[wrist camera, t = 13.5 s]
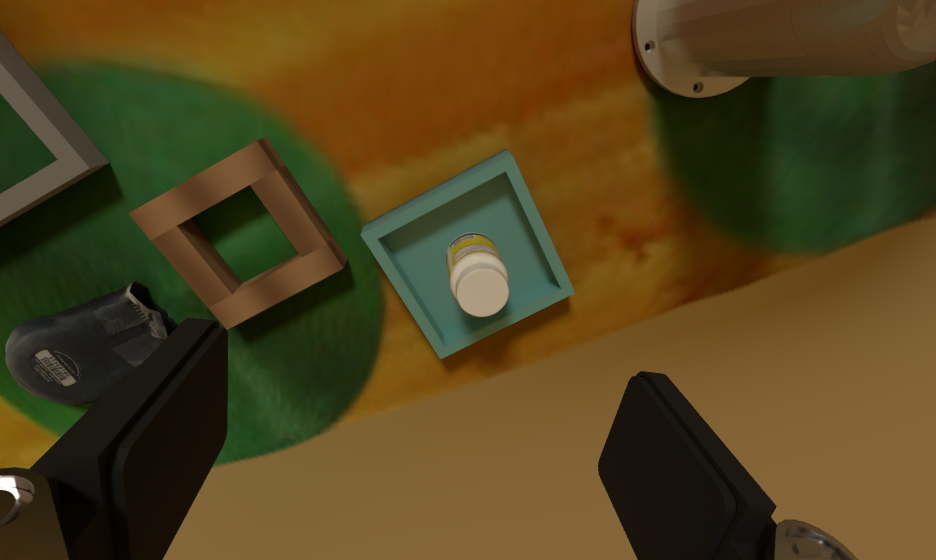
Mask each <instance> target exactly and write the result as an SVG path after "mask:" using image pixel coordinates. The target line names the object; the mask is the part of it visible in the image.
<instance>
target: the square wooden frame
mask: <svg viewBox="0 0 936 560" xmlns="http://www.w3.org/2000/svg"><path fill="white" fill-rule="evenodd" d="M249 185H250V186H251V187H252V189H253V190H254V192H255V193H256V194H257V196H258V197H259V199H260V200H261V201H262V203H263V204H264V206H265V207H266V208H267V210H268V211H269V213H270V214H271V215H272V217H273V218H274V220H275V221H276V222H277V224H278V225H279V227H280V228H281V229H282V231H283V232H284V234H285V235H286V236H287V238H288V239H289V241H290V242H291V243H292V245H293V246H294V248H295V249H296V250H297V252H298V254H296V255H295V256H293V257H291V258H289V259H287V260H285V261H283V262H282V263H280V264H278V265H276V266H274V267H272V268H270V269H268V270H267V271H265V272H263V273H261V274H259V275H257V276H255V277H254V278H252V279H250V280H248V281H246V282H244V283H242V282H241V281H240V280H239V279H238V277H237V276H236V275H235V274H234V272H233V271H232V270H231V268H230V267H229V266H228V265H227V263H226V262H225V261H224V260H223V258H222V257H221V256H220V255H219V253H218V252H217V251H216V250H215V248H214V247H213V246H212V245H211V243H210V242H209V241H208V239H207V238H206V237H205V236H204V234H203V233H202V232H201V231H200V229H199V228H198V227H197V226H196V224H195V223H194V222H193V221H192V219H191V217H193V216H195V215H197V214H199V213H200V212H202V211H204V210H206V209H208V208H209V207H211V206H213V205H215V204H216V203H218V202H220V201H222V200H224V199H225V198H227V197H229V196H231V195H233V194H234V193H236V192H238V191H240V190H242V189H243V188H245V187H247V186H249ZM129 215H130V216H131V217H132V219H133V220H134V221H135V222H136V223H137V224H138V226H139V227H140V228H141V229H142V230H143V232H144V233H145V234H146V235H147V236H148V237H149V239H150V240H151V241H152V242H153V243H154V244H155V246H156V247H157V248H158V249H159V250H160V252H161V253H162V254H163V255H164V256H165V257H166V259H167V260H168V261H169V262H170V263H171V265H172V266H173V267H174V268H175V269H176V270H177V272H178V273H179V274H180V275H181V276H182V277H183V279H184V280H185V281H186V282H187V283H188V285H189V286H190V287H191V288H192V289H193V290H194V292H195V293H196V294H197V295H198V296H199V298H200V299H201V300H202V301H203V302H204V303H205V305H206V306H207V307H208V308H209V309H210V310H211V312H212V313H213V314H214V315H215V316H216V318H217V319H218V320H219V321H220V322H221V323H222V325H223V326H224V327H225V328H226V329H227V330H228V329H230V328H231V327H233V326H235V325H237V324H239V323H241V322H243V321H245V320H247V319H249V318H250V317H252V316H254V315H256V314H258V313H260V312H262V311H264V310H266V309H268V308H269V307H271V306H273V305H275V304H277V303H279V302H281V301H283V300H285V299H287V298H288V297H290V296H292V295H294V294H296V293H298V292H300V291H302V290H304V289H306V288H307V287H309V286H311V285H313V284H315V283H317V282H319V281H321V280H323V279H325V278H326V277H328V276H330V275H332V274H334V273H336V272H338V271H340V270H342V269H344V266H345V264H346V261H347V259H348V258H347V257H346V255H345V254H344V252H343V251H342V249H341V248H340V246H339V245H338V243H337V242H336V240H335V239H334V237H333V236H332V234H331V233H330V231H329V230H328V228H327V227H326V225H325V224H324V222H323V221H322V219H321V218H320V217H319V215H318V214H317V212H316V211H315V209H314V208H313V206H312V205H311V203H310V202H309V200H308V199H307V197H306V196H305V194H304V193H303V191H302V190H301V188H300V187H299V185H298V184H297V182H296V181H295V179H294V178H293V176H292V175H291V173H290V172H289V170H288V169H287V167H286V166H285V164H284V163H283V161H282V160H281V158H280V157H279V155H278V154H277V152H276V151H275V149H274V148H273V146H272V145H271V143H270V142H269V140H268V139H267V137H265V138H262V139H260V140H257V141H255V142H253V143H252V144H250V145H248V146H246V147H245V148H243V149H241V150H239V151H238V152H236V153H234V154H232V155H231V156H229V157H227V158H225V159H224V160H222V161H220V162H218V163H217V164H215V165H213V166H211V167H209V168H208V169H206V170H204V171H202V172H201V173H199V174H197V175H195V176H194V177H192V178H190V179H188V180H187V181H185V182H183V183H181V184H180V185H178V186H176V187H174V188H173V189H171V190H169V191H167V192H166V193H164V194H162V195H160V196H159V197H157V198H155V199H153V200H151V201H150V202H148V203H146V204H144V205H143V206H141V207H139V208H137V209H136V210H134V211H132V212H130V213H129Z"/></svg>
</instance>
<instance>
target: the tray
mask: <svg viewBox="0 0 936 560" xmlns="http://www.w3.org/2000/svg"><path fill="white" fill-rule="evenodd" d="M470 232H475V233H480V234H483V235H485V236H487V237H488V238H489V239H491V241H492V242H493V243H494V245H495V246H496V248H497V251H498V253H499V255H500V257H501V259H502V261H503V263H504V265H505V267H506V270H507V274H508V288H509V295H508V299H507V302H506V303H505V305H504V306H503V308H502V309H501V310H499V311H498V312H497V313H495V314H493V315H490V316H486V317H478V316H473V315H471V314H469V313H467V312H466V311H464V310H463V309H462V307H461V306H460V305H459V303H458V300H457V299H456V298H455V297H454V295H453V293H452V291H451V288H450V282H449V276H448V269H447V263H446V254H447V250H448V247H449V246H450V244H451V243H452V241H453V240H454V239H455V238H457V237H458V236H460V235H462V234H465V233H470ZM361 236H362V238H363V239H364V241H365V242H366V244H367V246H368V247H369V249H370V250H371V252H372V253H373V255H374V256H375V258H376V260H377V261H378V263H379V264H380V266H381V267H382V269H383V271H384V272H385V274H386V275H387V277H388V278H389V280H390V281H391V283H392V285H393V286H394V288H395V289H396V291H397V292H398V294H399V295H400V297H401V299H402V300H403V302H404V303H405V305H406V306H407V308H408V310H409V311H410V313H411V314H412V316H413V317H414V319H415V320H416V322H417V324H418V325H419V327H420V328H421V330H422V331H423V333H424V335H425V336H426V338H427V339H428V341H429V342H430V344H431V345H432V347H433V349H434V350H435V352H436V353H437V355H438V356H439V358H440V359H443V358H445V357H447V356H449V355H451V354H453V353H455V352H457V351H459V350H461V349H463V348H465V347H467V346H469V345H471V344H473V343H475V342H477V341H479V340H481V339H483V338H485V337H487V336H489V335H491V334H493V333H495V332H497V331H499V330H501V329H503V328H505V327H507V326H509V325H511V324H514V323H516V322H518V321H520V320H522V319H524V318H526V317H528V316H530V315H532V314H534V313H536V312H538V311H540V310H542V309H544V308H546V307H548V306H550V305H552V304H554V303H556V302H558V301H560V300H562V299H564V298H566V297H568V296H570V295H572V294H574V293H575V291H574V289H573V287H572V284H571V282H570V280H569V278H568V276H567V274H566V271H565V269H564V267H563V265H562V263H561V260H560V258H559V256H558V254H557V252H556V250H555V247H554V245H553V243H552V241H551V239H550V236H549V234H548V232H547V230H546V228H545V226H544V223H543V221H542V219H541V217H540V215H539V212H538V210H537V208H536V206H535V204H534V202H533V199H532V197H531V195H530V193H529V191H528V188H527V186H526V184H525V182H524V180H523V178H522V175H521V173H520V171H519V169H518V167H517V164H516V162H515V160H514V158H513V156H512V154H511V153H510V152H508V151H507V150H506V149H505V150H503V151H501V152H499V153H497V154H495V155H494V156H492V157H490V158H488V159H486V160H484V161H482V162H480V163H479V164H477V165H475V166H473V167H471V168H469V169H467V170H466V171H464V172H462V173H460V174H458V175H456V176H454V177H452V178H451V179H449V180H447V181H445V182H443V183H441V184H439V185H437V186H436V187H434V188H432V189H430V190H428V191H426V192H424V193H422V194H421V195H419V196H417V197H415V198H413V199H411V200H409V201H408V202H406V203H404V204H402V205H400V206H398V207H396V208H394V209H393V210H391V211H389V212H387V213H385V214H383V215H381V216H379V217H378V218H376V219H374V220H372V221H370V222H368V223H366V224H364V227H363V229H362V232H361Z"/></svg>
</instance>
